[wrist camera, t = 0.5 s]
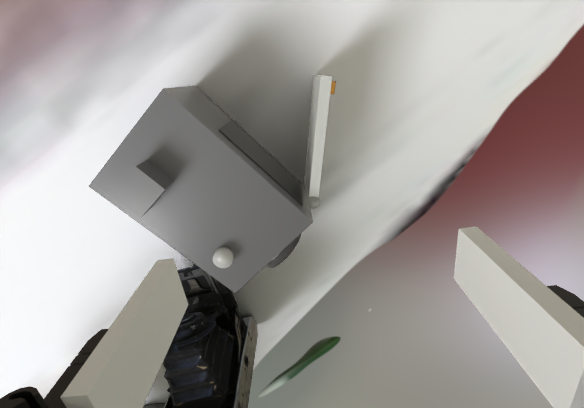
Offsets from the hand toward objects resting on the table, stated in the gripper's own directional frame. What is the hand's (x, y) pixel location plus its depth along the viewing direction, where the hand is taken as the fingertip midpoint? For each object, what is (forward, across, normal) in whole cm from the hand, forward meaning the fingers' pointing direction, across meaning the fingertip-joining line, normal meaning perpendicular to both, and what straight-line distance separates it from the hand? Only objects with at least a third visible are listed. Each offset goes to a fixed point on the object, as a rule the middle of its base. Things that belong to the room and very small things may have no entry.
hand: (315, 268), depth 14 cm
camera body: (+25, -10, -2) cm, 27 cm away
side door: (+25, +2, +1) cm, 25 cm away
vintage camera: (+25, -16, -21) cm, 37 cm away
